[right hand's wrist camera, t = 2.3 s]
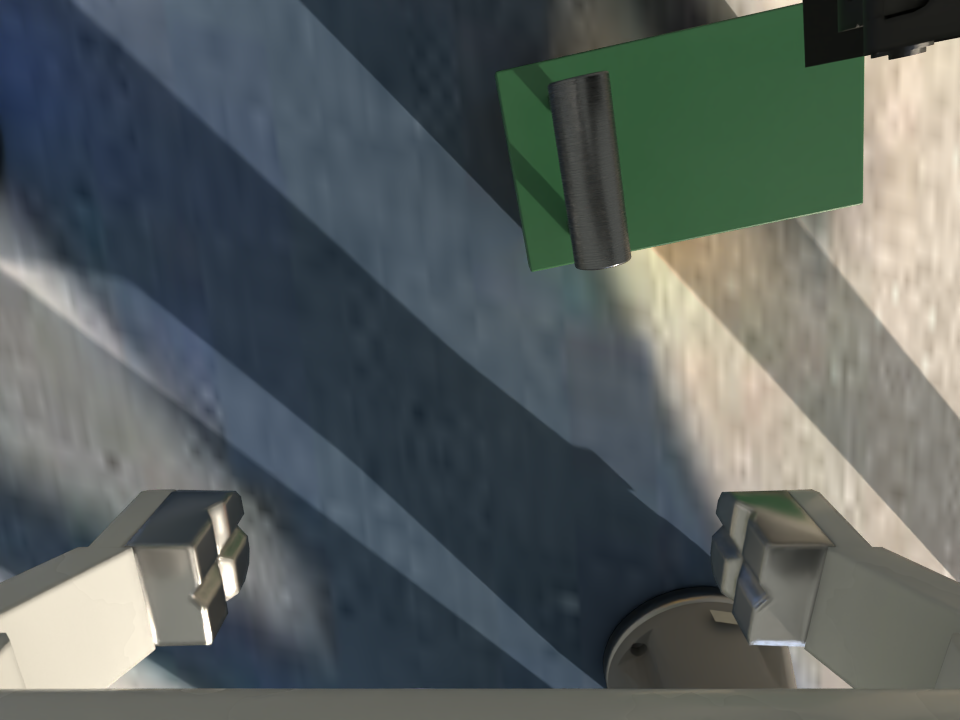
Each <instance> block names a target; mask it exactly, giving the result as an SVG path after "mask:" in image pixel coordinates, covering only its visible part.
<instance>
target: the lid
mask: <svg viewBox="0 0 960 720" xmlns="http://www.w3.org/2000/svg"><path fill="white" fill-rule="evenodd" d="M495 81H496V86H497V92H498V97H499V103H500V108H501V114H502V120H503V125H504V131H505V136H506V142H507V147H508V153H509V158H510V164H511V170H512V175H513V181H514V186H515V192H516V197H517V203H518V209H519V214H520V220H521V225H522V231H523V236H524V242H525V247H526V253H527V259H528V264H529V268H530V270H531V271H532V272H534V271H538V270H543V269H548V268H553V267H558V266H563V265H568V264H572V263H575V267H576V268H577V269H580V270H599V269H606V268H611V267H615V266H618V265H621V264H624V263H626V262H628V261H629V260H630V259H631V251H636V250H641V249H646V248H650V247H655V246H660V245H665V244H670V243H675V242H680V241H685V240H689V239H694V238H699V237H704V236H709V235H714V234H719V233H724V232H728V231H733V230H738V229H743V228H748V227H753V226H758V225H763V224H767V223H772V222H777V221H782V220H787V219H792V218H797V217H802V216H806V215H811V214H816V213H821V212H826V211H831V210H836V209H841V208H845V207H850V206H855V205H860V204H862V203H863V132H864V56H862V57H857V58H852V59H847V60H842V61H837V62H831V63H826V64H821V65H816V66H811V67H806V68H805V50H804V24H803V3H799V4H795V5H790V6H786V7H781V8H777V9H772V10H768V11H763V12H759V13H755V14H750V15H746V16H741V17H737V18H732V19H728V20H723V21H719V22H715V23H710V24H706V25H701V26H697V27H692V28H688V29H683V30H679V31H675V32H670V33H666V34H661V35H657V36H652V37H648V38H644V39H639V40H635V41H630V42H626V43H621V44H617V45H612V46H608V47H604V48H599V49H595V50H590V51H586V52H581V53H577V54H572V55H568V56H564V57H559V58H555V59H550V60H546V61H541V62H537V63H532V64H528V65H524V66H519V67H515V68H510V69H506V70H501V71H497V72H496V73H495Z"/></svg>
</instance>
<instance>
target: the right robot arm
mask: <svg viewBox="0 0 960 720" xmlns="http://www.w3.org/2000/svg"><path fill="white" fill-rule="evenodd" d="M243 515H244V510H243V505H242V500H241V496H240V495H239V494H238V493H237V492H236V491H208V490H147V491H142V492H141V493H140V494H139V495H138V496H137V497H136V498H135V499H134V500H133V501H132V502H131V503H130V504H129V505H128V506H127V507H126V508H125V509H124V510H123V511H122V512H121V513H120V514H119V515H118V517H117V518H116V519H115V520H114V521H113V522H112V523H111V524H110V525H109V526H108V527H107V528H106V529H105V530H104V531H103V532H102V533H101V534H100V535H99V536H98V537H97V538H96V539H95V540H94V541H93V542H92V543H91V544H90V546H89V547H77V548H75V549H73V550H71V551H69V552H66V553H64V554H62V555H60V556H58V557H56V558H53V559H51V560H49V561H47V562H45V563H42V564H40V565H38V566H36V567H34V568H32V569H29V570H27V571H25V572H23V573H21V574H19V575H16V576H14V577H12V578H10V579H8V580H5V581H3V582H1V583H0V720H960V583H959V582H956V581H954V580H952V579H950V578H948V577H946V576H943V575H941V574H939V573H937V572H935V571H933V570H930V569H928V568H926V567H924V566H922V565H920V564H917V563H915V562H913V561H911V560H909V559H907V558H904V557H902V556H900V555H898V554H896V553H894V552H891V551H889V550H887V549H885V548H883V547H872V546H871V545H870V544H869V543H868V542H867V541H866V540H865V539H864V538H863V537H862V536H861V535H860V534H859V533H858V532H857V531H856V530H855V529H854V528H853V527H852V526H851V525H850V524H849V523H848V522H847V521H846V520H845V518H844V517H843V516H842V515H841V514H840V513H839V512H838V511H837V510H836V509H835V508H834V507H833V506H832V505H831V504H830V503H829V502H828V501H827V500H826V499H825V498H824V497H823V496H822V495H821V494H820V493H819V492H817V491H815V490H812V489H805V490H782V491H743V492H722V493H721V495H720V497H719V500H718V504H717V510H716V515H717V516H718V518H719V519H720V521H721V523H722V524H723V526H722V527H721V528H720V529H719V530H718V531H717V532H716V533H715V534H714V535H713V536H712V543H711V552H710V555H711V565H712V571H713V575H714V578H715V581H716V584H717V586H718V587H719V589H720V591H721V593H722V594H724V595H725V596H727V597H728V598H730V599H731V600H733V601H734V603H733V609H732V614H733V616H734V618H735V620H736V622H737V624H738V625H739V627H740V629H741V631H742V633H743V635H744V636H745V638H746V640H747V642H748V644H749V645H774V646H805V648H804V649H805V650H806V651H808V652H809V653H810V654H811V655H813V656H814V657H815V658H816V659H818V660H819V661H820V662H821V663H823V664H824V665H825V666H826V667H828V668H829V669H830V670H831V671H833V672H834V673H835V674H836V675H838V676H839V677H840V678H841V679H843V680H844V681H845V682H846V683H848V684H849V685H850V686H851V687H853V688H854V689H106V688H108V687H109V686H110V685H111V684H113V683H114V682H115V681H116V680H118V679H119V678H120V677H121V676H123V675H124V674H125V673H126V672H128V671H129V670H130V669H131V668H133V667H134V666H135V665H136V664H138V663H139V662H140V661H141V660H143V659H144V658H145V657H146V656H148V655H149V654H150V653H151V652H153V651H154V650H155V646H185V645H211V644H212V642H213V640H214V638H215V637H216V635H217V633H218V631H219V629H220V627H221V625H222V624H223V622H224V620H225V618H226V616H227V614H228V609H227V603H226V601H228V600H229V599H230V598H232V597H233V596H235V595H236V594H238V593H239V591H240V589H241V587H242V585H243V583H244V581H245V579H246V574H247V570H248V566H249V542H248V536H247V535H246V534H245V533H244V532H243V531H242V530H241V529H240V528H239V527H238V526H237V524H238V523H239V521H240V520H241V518H242V516H243Z"/></svg>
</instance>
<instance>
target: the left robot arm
mask: <svg viewBox="0 0 960 720" xmlns="http://www.w3.org/2000/svg"><path fill="white" fill-rule="evenodd" d="M803 24H804V50H805V68H806V67H811V66H816V65H821V64H826V63H831V62H837V61H842V60H847V59H852V58H857V57H862V56H867V55H871V58H877V57H881V56H886V55H888V57H889V60H891V59H896V58H901V57H906V56H910V55H915V54H919V53H923V52H926V46H930V45H933V44H934V42H939V41H944V40H949V39H954V38H959V37H960V0H803ZM733 603H734V601H733V600H731V599H730V598H728V597H727V596H725V595H724V594H722V593H721V591H720V589H719V588H715V587H692V588H685V589H680V590H675V591H672V592H668V593H665V594H663V595H660V596H657V597H655V598H653V599H651V600H649V601H647V602H645V603H644V604H642V605H640V606H639V607H637V608H636V609H635V610H633V611H632V612H631V613H630V614H628V615H627V616H626V617H625V618H624V619H623V620H622V621H621V623H620V624H619V625H618V626H617V627H616V629H615V630H614V632H613V633H612V635H611V637H610V639H609V641H608V643H607V646H606V649H605V652H604V658H603V671H604V676H605V680H606V684H607V688H608V689H797V686H796V681H795V676H794V671H793V666H792V661H791V656H790V652H789V648H788V646H774V645H749V644H748V642H747V640H746V638H745V636H744V635H743V633H742V631H741V629H740V627H739V625H738V624H737V622H736V620H735V618H734V616H733V614H732V609H733Z"/></svg>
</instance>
